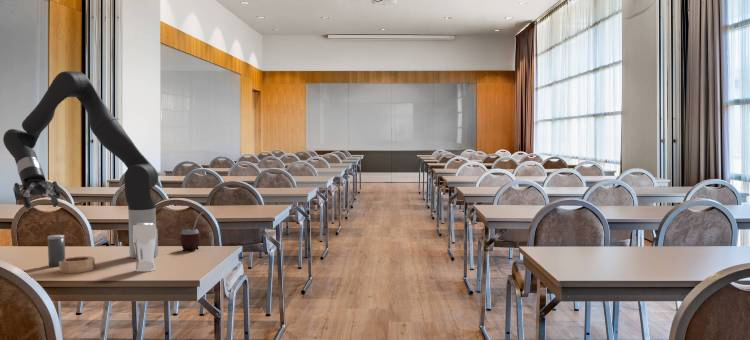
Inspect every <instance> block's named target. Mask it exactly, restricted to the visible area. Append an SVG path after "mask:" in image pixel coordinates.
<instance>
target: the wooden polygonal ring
mask: <svg viewBox="0 0 750 340" xmlns="http://www.w3.org/2000/svg"><path fill="white" fill-rule="evenodd" d="M95 265H96V261H95V257H94V256H89V255H88V256H86V255H83V256H71V257H65V259H61V260H59V267H58V268H59V269H58V270H59V273H61V274H78V273H85V272H90V271H94V270H95V268H96V266H95Z"/></svg>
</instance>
